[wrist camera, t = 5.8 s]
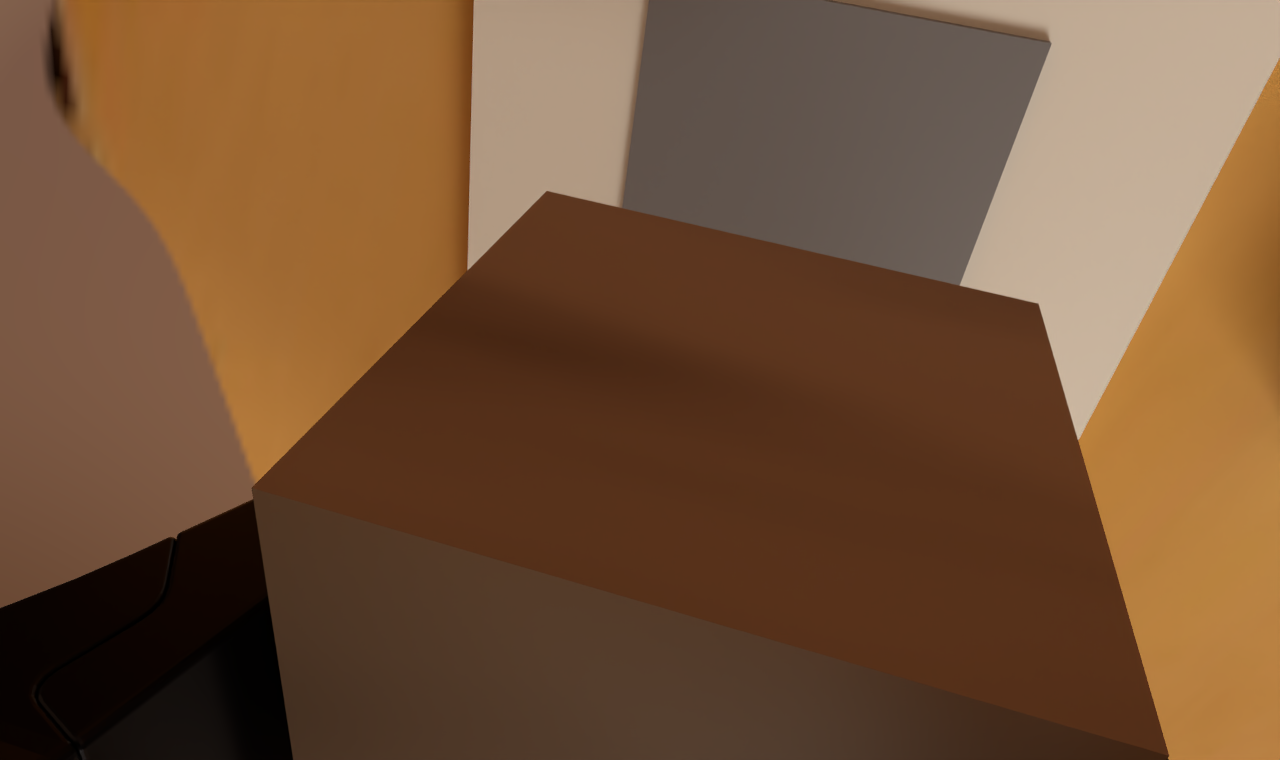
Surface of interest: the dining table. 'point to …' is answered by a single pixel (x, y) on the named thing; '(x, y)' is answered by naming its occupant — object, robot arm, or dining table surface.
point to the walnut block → (699, 519)
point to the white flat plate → (887, 135)
